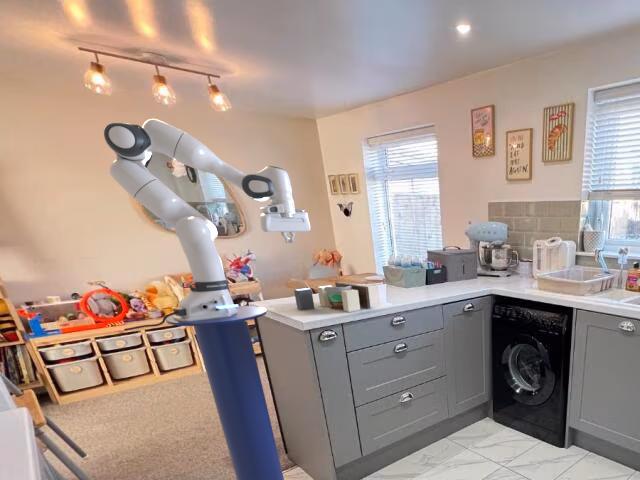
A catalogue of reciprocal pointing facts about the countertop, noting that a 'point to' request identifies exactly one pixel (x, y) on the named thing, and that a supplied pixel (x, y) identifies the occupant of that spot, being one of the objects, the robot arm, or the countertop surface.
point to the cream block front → (350, 300)
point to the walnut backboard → (359, 293)
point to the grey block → (304, 299)
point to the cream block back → (323, 296)
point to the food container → (336, 296)
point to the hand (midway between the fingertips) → (289, 242)
